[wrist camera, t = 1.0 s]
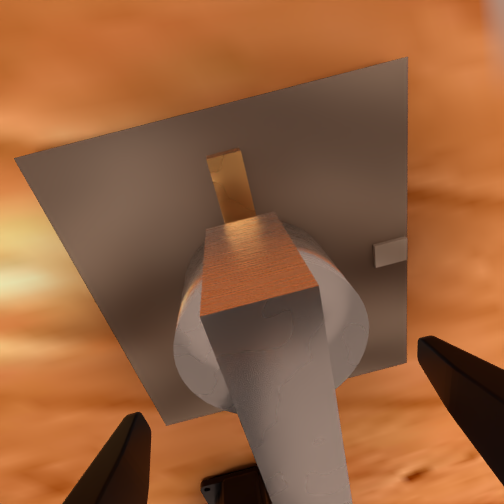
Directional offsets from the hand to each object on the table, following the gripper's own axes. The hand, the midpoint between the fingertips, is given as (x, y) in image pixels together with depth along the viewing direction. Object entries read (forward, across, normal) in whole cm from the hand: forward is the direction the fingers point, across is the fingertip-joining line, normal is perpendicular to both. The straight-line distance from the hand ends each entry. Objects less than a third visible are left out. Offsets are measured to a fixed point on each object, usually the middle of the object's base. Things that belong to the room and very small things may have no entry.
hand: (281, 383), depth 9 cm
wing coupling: (+5, 0, 0) cm, 5 cm away
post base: (+7, 0, 0) cm, 7 cm away
